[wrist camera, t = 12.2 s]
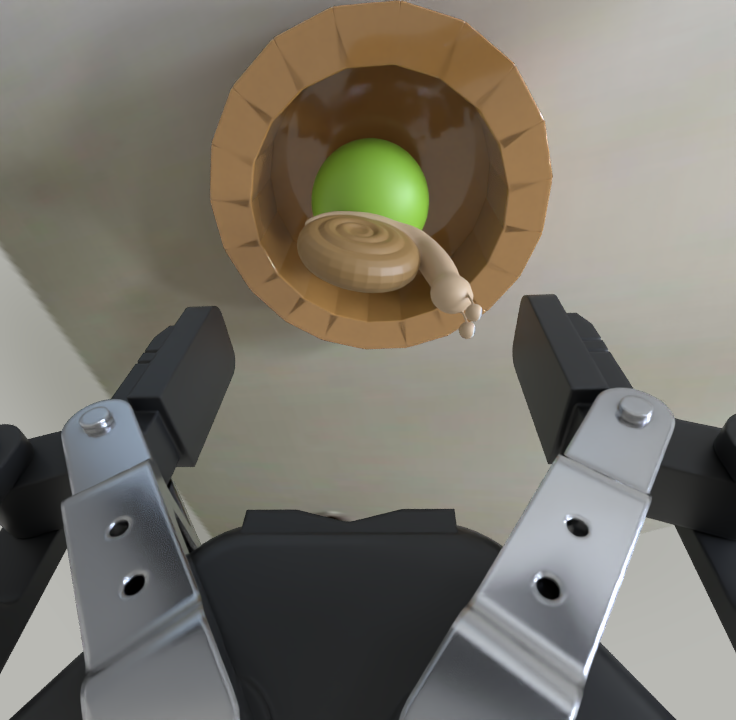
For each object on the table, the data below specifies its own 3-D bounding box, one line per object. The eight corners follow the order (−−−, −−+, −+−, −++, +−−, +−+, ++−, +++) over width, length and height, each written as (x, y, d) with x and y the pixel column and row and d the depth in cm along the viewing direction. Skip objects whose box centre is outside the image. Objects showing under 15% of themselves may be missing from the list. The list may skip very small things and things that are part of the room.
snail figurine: (428, 246, 24) (455, 392, 15) (314, 226, 24) (268, 365, 15) (456, 141, 21) (513, 245, 12) (324, 116, 21) (273, 203, 11)
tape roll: (200, 20, 19) (157, 22, 15) (549, -12, 18) (589, -18, 14) (270, 310, 28) (254, 353, 24) (504, 300, 27) (522, 343, 23)
